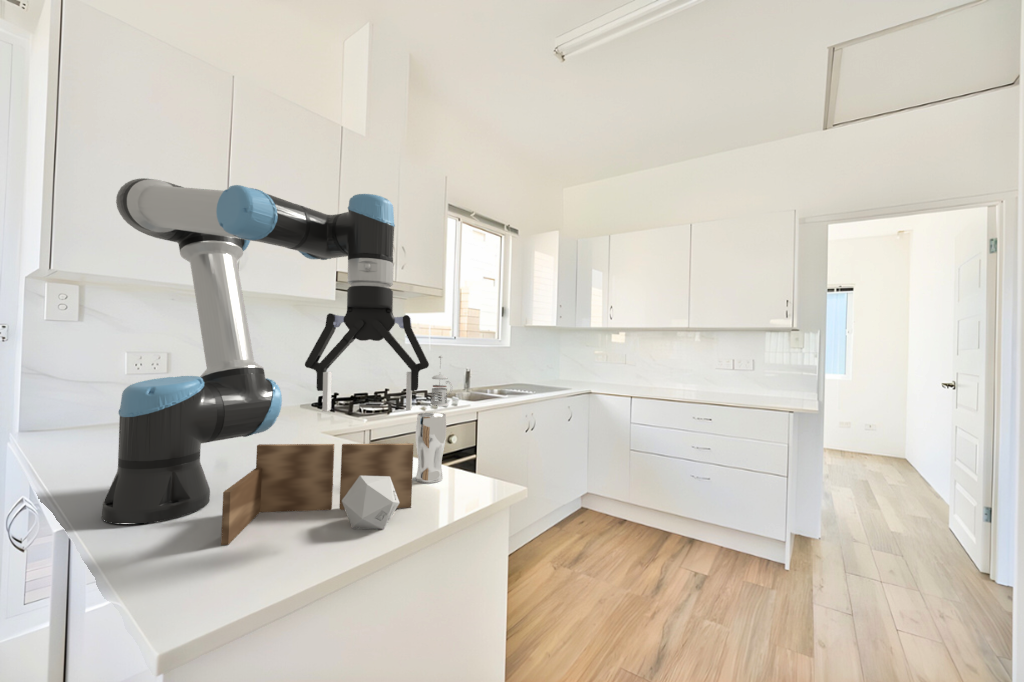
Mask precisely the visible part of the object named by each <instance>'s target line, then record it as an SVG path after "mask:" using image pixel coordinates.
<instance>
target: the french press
mask: <svg viewBox="0 0 1024 682" xmlns="http://www.w3.org/2000/svg"><path fill="white" fill-rule="evenodd" d="M438 358H439V359H440V360H439V364H440V365H439V368H441V364H442V359H443V356H442V355H439V356H438ZM431 379H432V380H446V381H445V384H444V385H443V384H441V383H440V382H441V381H439V384H432V387H433V388H431V399H430V400H431V402H430V403H429V404H432V405H437V406H436V407H447V406H449V404H448V396H449V395H451V394H452V392H453V390H452V389H450V391H449V392H448V388H447V384H449V387H452V386H453V384H452V383H451V382H450V381H449V380H448V377H447V376H446V375H444V374H441V373H438V374H436V375H433V376H432V377H431Z"/></svg>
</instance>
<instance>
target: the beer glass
mask: <svg viewBox="0 0 1024 682" xmlns="http://www.w3.org/2000/svg"><path fill="white" fill-rule="evenodd" d="M446 438H447V414H446V413H445V412H444V413H443V412H438V411H437V412H436V411H434V412H433V411H430V412H428V411H426V412H420V413H417V416H416V424H415V444H416V446H415V447H416V453H417V461H418V462H417V465H418V466H417V471H416V474H415V475H416V476H415V480H416V481H417V483H418V482H419V483H421V484H422V483H423V484H436V483H439V482H441V481H442V480H443V478H444V476H443V469H442V462H443V461H442V460H443V455H444V452H445V451H444V449H445V446H446Z"/></svg>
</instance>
